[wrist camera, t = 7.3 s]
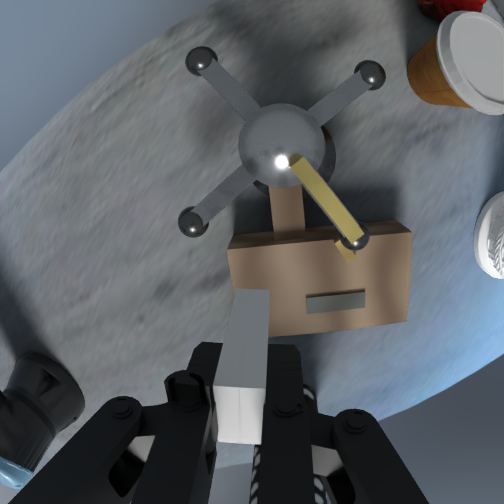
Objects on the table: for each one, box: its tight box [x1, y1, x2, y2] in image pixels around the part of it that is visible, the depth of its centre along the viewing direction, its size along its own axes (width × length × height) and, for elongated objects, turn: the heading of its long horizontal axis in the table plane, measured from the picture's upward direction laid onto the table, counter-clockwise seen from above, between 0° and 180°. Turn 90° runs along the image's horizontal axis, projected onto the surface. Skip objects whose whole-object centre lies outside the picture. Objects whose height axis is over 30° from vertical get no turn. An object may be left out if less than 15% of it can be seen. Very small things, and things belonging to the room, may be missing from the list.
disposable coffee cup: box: [407, 11, 504, 115], centre depth 22 cm, size 10×10×12 cm
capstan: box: [178, 46, 386, 251], centre depth 26 cm, size 22×22×11 cm
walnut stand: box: [227, 184, 412, 337], centre depth 32 cm, size 18×16×6 cm
